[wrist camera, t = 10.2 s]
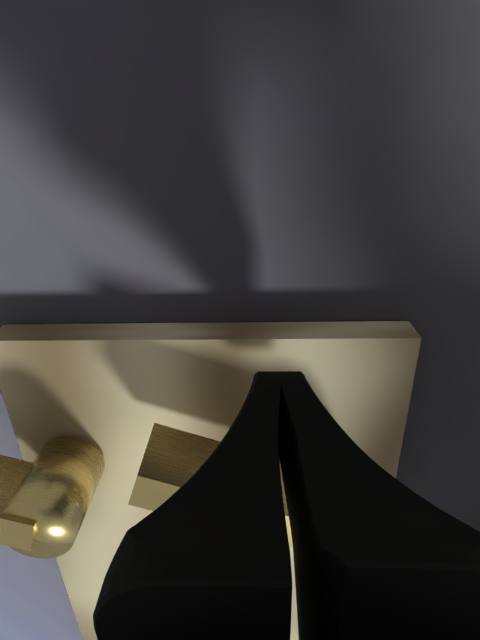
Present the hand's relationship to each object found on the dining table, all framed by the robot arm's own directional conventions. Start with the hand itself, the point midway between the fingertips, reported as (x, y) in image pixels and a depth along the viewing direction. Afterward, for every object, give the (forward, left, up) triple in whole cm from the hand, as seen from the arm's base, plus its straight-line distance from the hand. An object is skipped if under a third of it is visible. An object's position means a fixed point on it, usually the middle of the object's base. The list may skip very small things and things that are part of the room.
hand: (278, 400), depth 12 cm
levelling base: (+3, +9, -3) cm, 10 cm away
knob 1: (+10, +3, -2) cm, 10 cm away
